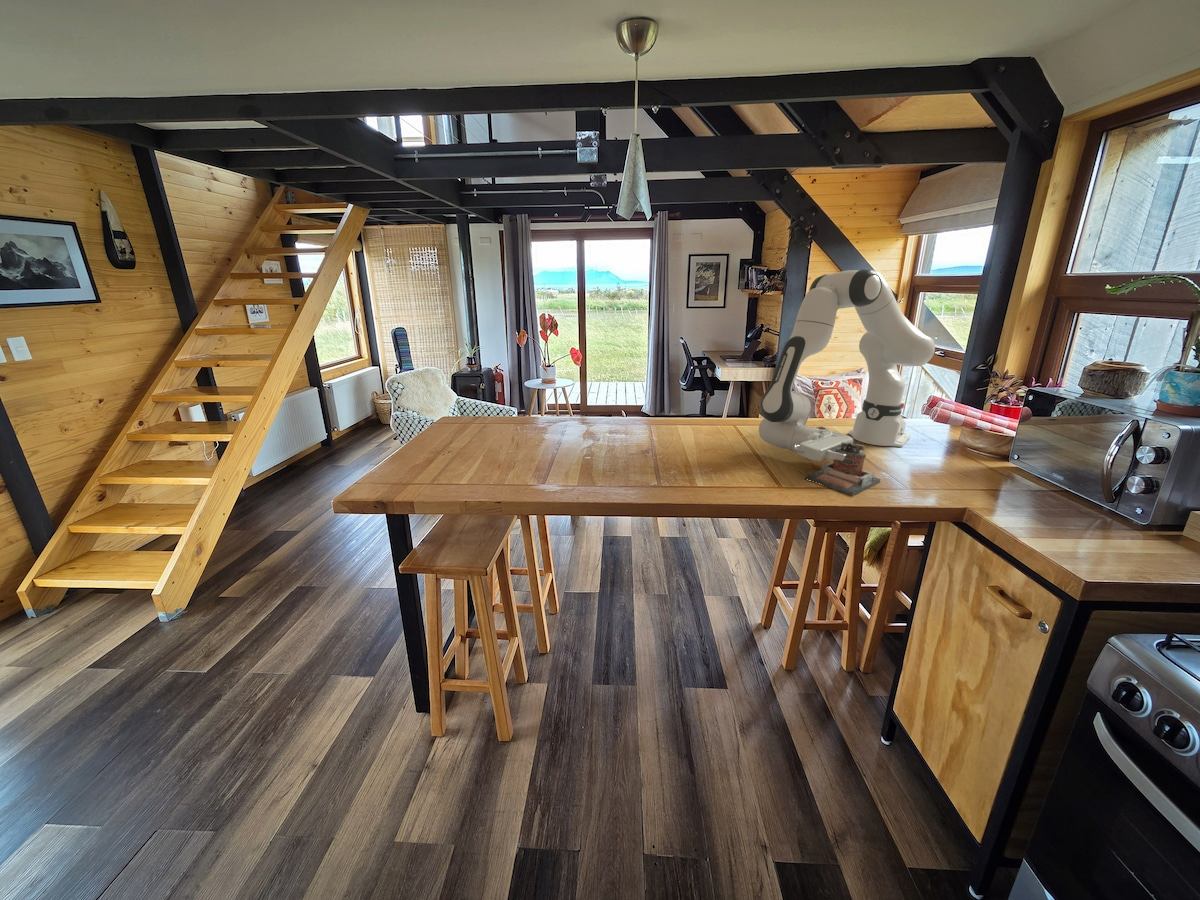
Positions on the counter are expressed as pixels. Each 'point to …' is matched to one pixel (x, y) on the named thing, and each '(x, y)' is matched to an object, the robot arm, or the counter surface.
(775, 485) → the counter surface
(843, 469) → the lighter
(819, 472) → the plate
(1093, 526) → the counter surface
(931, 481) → the counter surface
